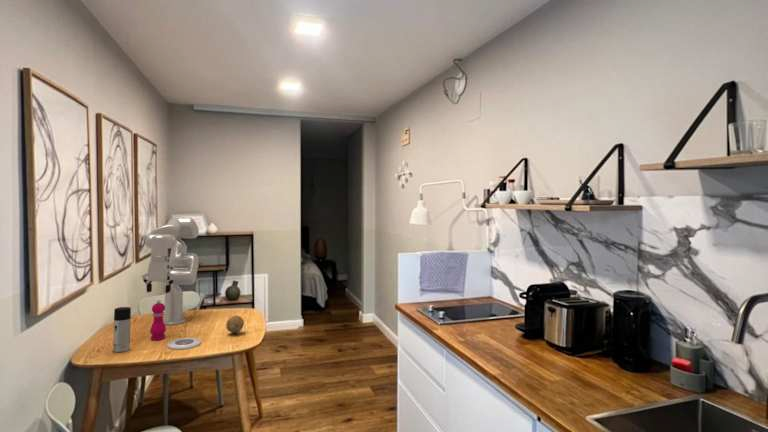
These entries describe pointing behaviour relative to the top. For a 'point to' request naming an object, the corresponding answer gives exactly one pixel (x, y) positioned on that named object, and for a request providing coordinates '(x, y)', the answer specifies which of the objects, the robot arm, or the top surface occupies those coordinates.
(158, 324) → the pepper mill
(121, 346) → the spray can
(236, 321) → the natural sponge
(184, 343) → the mount plate
